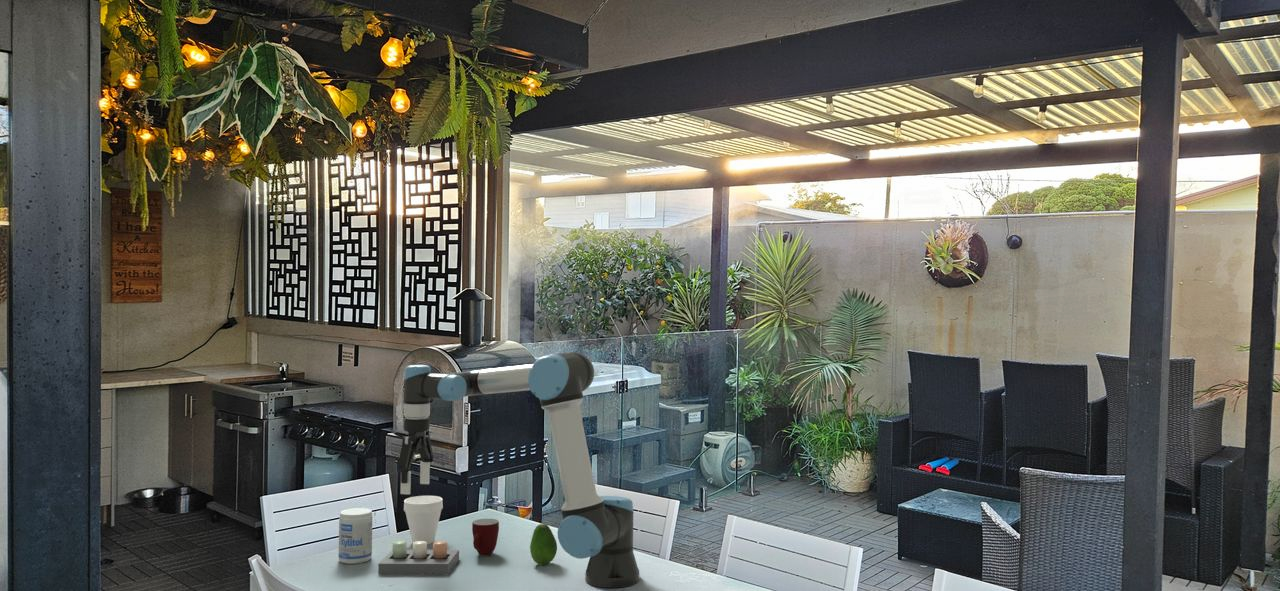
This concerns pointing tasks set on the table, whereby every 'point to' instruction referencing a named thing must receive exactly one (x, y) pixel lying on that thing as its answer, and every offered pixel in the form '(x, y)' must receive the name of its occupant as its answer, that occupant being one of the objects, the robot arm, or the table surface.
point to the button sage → (399, 549)
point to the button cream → (420, 549)
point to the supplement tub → (355, 535)
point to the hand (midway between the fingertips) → (415, 488)
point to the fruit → (543, 545)
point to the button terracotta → (440, 549)
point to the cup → (423, 517)
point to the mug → (485, 535)
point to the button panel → (418, 564)
